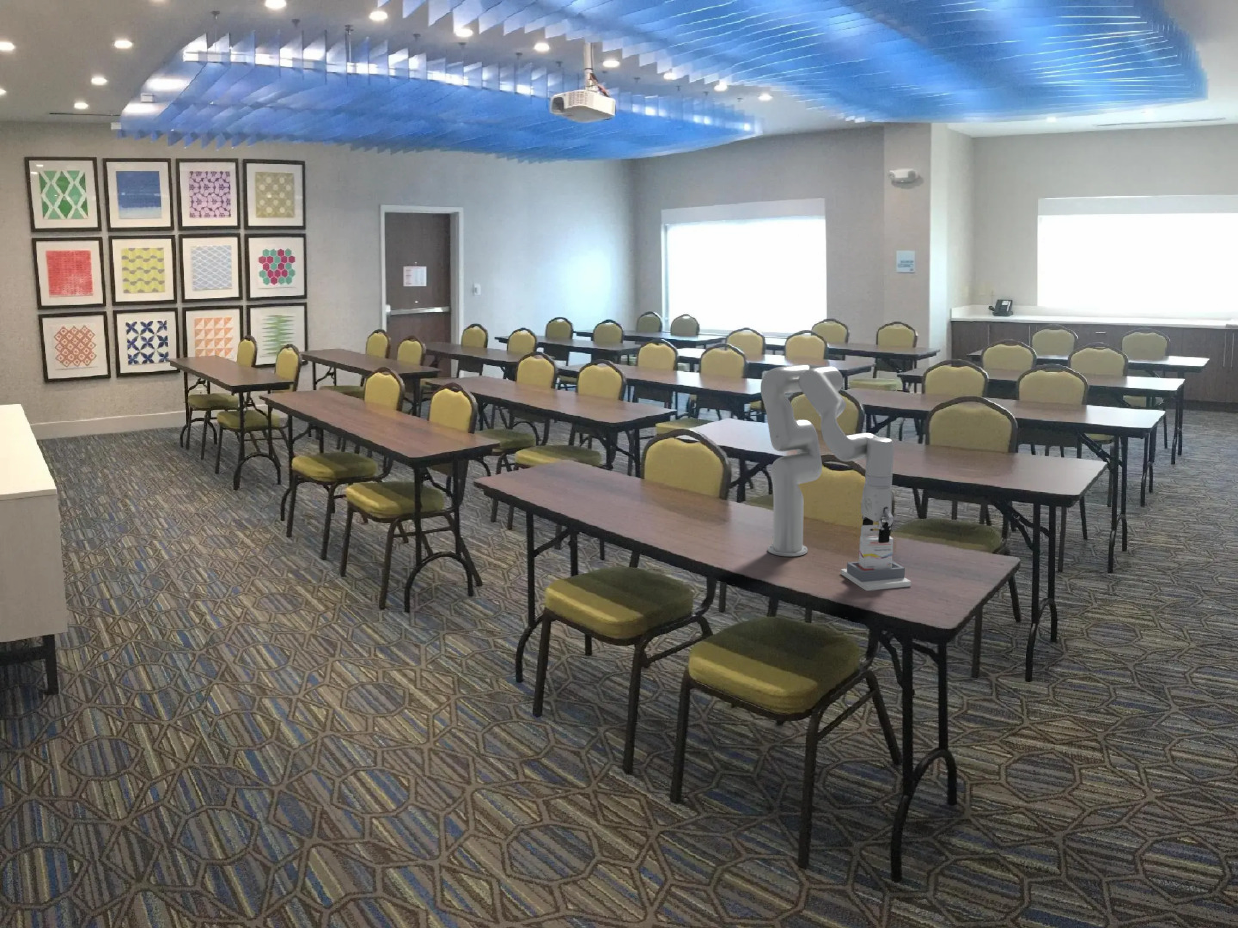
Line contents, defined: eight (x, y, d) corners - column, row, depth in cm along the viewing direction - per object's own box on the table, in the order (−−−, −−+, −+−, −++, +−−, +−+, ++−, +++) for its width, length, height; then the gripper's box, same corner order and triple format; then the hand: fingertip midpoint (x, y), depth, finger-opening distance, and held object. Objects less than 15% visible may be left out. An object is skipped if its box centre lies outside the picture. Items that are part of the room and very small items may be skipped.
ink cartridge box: (863, 578, 278) (865, 529, 275) (858, 573, 283) (859, 525, 280) (892, 577, 279) (894, 528, 276) (886, 571, 284) (888, 523, 281)
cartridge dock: (840, 573, 288) (841, 559, 287) (883, 569, 291) (883, 555, 290) (866, 590, 272) (866, 575, 271) (910, 586, 275) (911, 571, 275)
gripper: (852, 474, 283) (849, 530, 287) (881, 488, 267) (878, 547, 270) (875, 473, 285) (872, 528, 288) (905, 486, 268) (902, 545, 272)
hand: (875, 537), depth 279 cm, fingers open, 9 cm apart
